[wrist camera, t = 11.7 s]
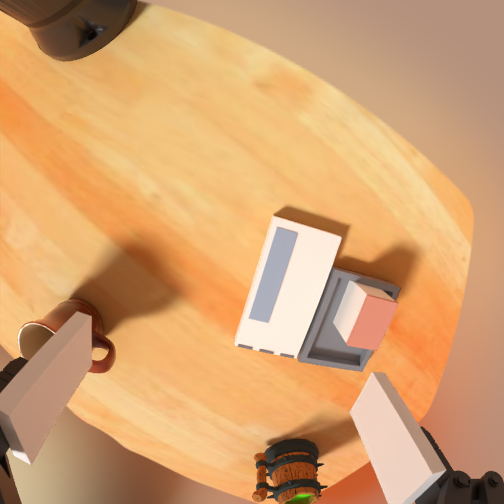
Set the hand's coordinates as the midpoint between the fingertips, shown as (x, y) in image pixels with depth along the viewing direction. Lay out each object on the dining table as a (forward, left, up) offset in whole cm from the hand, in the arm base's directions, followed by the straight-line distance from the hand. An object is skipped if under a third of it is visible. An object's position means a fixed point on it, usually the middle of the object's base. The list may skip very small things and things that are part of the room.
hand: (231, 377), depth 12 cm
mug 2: (+32, +17, -23) cm, 43 cm away
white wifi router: (+3, +7, -23) cm, 24 cm away
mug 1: (+15, -16, -23) cm, 32 cm away
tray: (+5, +16, -23) cm, 28 cm away
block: (+2, +16, -22) cm, 27 cm away
